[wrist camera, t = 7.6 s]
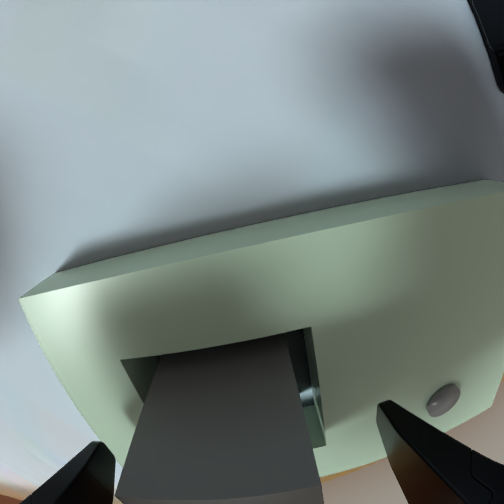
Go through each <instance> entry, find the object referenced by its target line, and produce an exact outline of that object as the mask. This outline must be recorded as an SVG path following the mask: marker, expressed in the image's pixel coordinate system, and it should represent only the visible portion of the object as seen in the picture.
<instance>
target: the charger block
mask: <svg viewBox="0 0 504 504" xmlns="http://www.w3.org/2000/svg"><path fill="white" fill-rule="evenodd" d="M115 496H116V497H117V498H118V499H119V500H120V501H121V502H122V503H123V504H324V501H323V494H322V486H321V481H320V477H319V473H318V469H317V465H316V460H315V456H314V452H313V448H312V444H311V440H310V435H309V431H308V427H307V423H306V419H305V415H304V411H303V407H302V403H301V399H300V395H299V391H298V387H297V383H296V379H295V375H294V371H293V367H292V363H291V359H290V355H289V351H288V347H287V343H286V339H285V335H284V333H280V334H276V335H271V336H266V337H261V338H257V339H252V340H247V341H241V342H236V343H231V344H225V345H220V346H214V347H208V348H202V349H196V350H190V351H184V352H177V353H170V354H163V355H161V357H160V360H159V363H158V366H157V368H156V371H155V374H154V377H153V379H152V382H151V385H150V388H149V391H148V394H147V396H146V399H145V402H144V405H143V408H142V411H141V414H140V417H139V420H138V423H137V426H136V429H135V432H134V435H133V438H132V441H131V444H130V447H129V450H128V454H127V457H126V460H125V463H124V466H123V470H122V473H121V476H120V480H119V483H118V486H117V490H116V493H115Z"/></svg>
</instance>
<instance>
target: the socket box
mask: <svg viewBox="0 0 504 504" xmlns="http://www.w3.org/2000/svg"><path fill="white" fill-rule="evenodd" d="M19 301H20V304H21V306H22V308H23V311H24V313H25V315H26V318H27V320H28V322H29V324H30V326H31V328H32V330H33V333H34V335H35V337H36V339H37V341H38V343H39V345H40V347H41V349H42V350H43V352H44V354H45V356H46V358H47V360H48V362H49V363H50V365H51V367H52V369H53V371H54V372H55V374H56V376H57V377H58V379H59V381H60V382H61V384H62V386H63V387H64V389H65V391H66V392H67V394H68V395H69V397H70V398H71V400H72V401H73V403H74V405H75V406H76V408H77V409H78V410H79V412H80V413H81V415H82V416H83V418H84V419H85V421H86V422H87V423H88V425H89V426H90V427H91V429H92V430H93V432H94V433H95V434H96V435H97V437H98V438H99V439H100V441H101V442H104V443H105V444H106V446H107V447H108V448H109V449H110V451H111V452H112V453H113V454H114V456H115V459H116V460H117V462H118V463H119V464H120V465H121V466H122V467H123V466H124V463H125V460H126V457H127V454H128V450H129V447H130V444H131V441H132V438H133V435H134V432H135V429H136V426H137V423H138V420H139V417H140V414H141V411H142V408H143V405H144V402H145V399H146V396H147V394H148V391H149V388H150V385H151V382H152V379H153V377H154V374H155V371H156V368H157V366H158V363H159V362H158V360H157V358H156V355H163V354H170V353H177V352H184V351H190V350H196V349H202V348H208V347H214V346H220V345H225V344H231V343H236V342H241V341H247V340H252V339H257V338H261V337H266V336H271V335H276V334H280V333H285V332H289V331H293V330H298V329H302V328H303V333H304V339H305V345H306V351H307V358H308V364H309V370H310V377H311V384H312V390H313V397H314V404H315V405H311V406H306V407H303V411H304V415H305V419H306V423H307V427H308V431H309V435H310V440H311V444H312V448H313V452H314V456H315V460H316V465H317V469H318V473H319V477H322V476H326V475H330V474H334V473H338V472H341V471H345V470H349V469H352V468H355V467H359V466H362V465H365V464H368V463H371V462H374V461H377V460H380V459H383V458H385V457H387V454H386V451H385V448H384V445H383V442H382V439H381V436H380V433H379V430H378V427H377V423H376V415H377V405H378V403H380V402H383V401H386V400H392V401H394V402H395V403H397V404H398V405H400V406H402V407H403V408H405V409H406V410H408V411H410V412H411V413H413V414H414V415H416V416H418V417H419V418H421V419H422V420H424V421H426V422H427V423H429V424H431V425H432V426H434V427H435V428H437V429H439V430H440V431H442V432H446V431H448V430H450V429H452V428H454V427H456V426H458V425H460V424H462V423H463V422H465V421H467V420H469V419H471V418H472V417H474V416H476V415H478V414H479V413H481V412H483V411H484V410H486V409H488V408H489V407H491V405H492V403H493V401H494V398H495V395H496V393H497V390H498V387H499V384H500V381H501V378H502V375H503V372H504V182H501V181H495V180H489V179H486V180H479V181H473V182H467V183H462V184H456V185H450V186H444V187H438V188H433V189H427V190H422V191H416V192H411V193H405V194H400V195H395V196H389V197H384V198H379V199H374V200H368V201H363V202H358V203H353V204H348V205H343V206H338V207H333V208H328V209H324V210H319V211H314V212H309V213H304V214H299V215H295V216H290V217H285V218H281V219H276V220H271V221H267V222H262V223H258V224H253V225H249V226H244V227H240V228H235V229H231V230H226V231H222V232H218V233H213V234H209V235H205V236H200V237H196V238H192V239H188V240H183V241H179V242H175V243H171V244H167V245H163V246H158V247H154V248H150V249H146V250H142V251H138V252H134V253H130V254H126V255H122V256H118V257H114V258H110V259H106V260H102V261H99V262H95V263H91V264H87V265H83V266H79V267H76V268H72V269H68V270H64V271H61V272H57V273H54V274H52V275H51V276H49V277H48V278H47V279H45V280H44V281H42V282H41V283H39V284H38V285H37V286H35V287H34V288H32V289H31V290H30V291H28V292H27V293H26V294H24V295H23V296H22V297H20V298H19Z"/></svg>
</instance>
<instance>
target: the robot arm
mask: <svg viewBox="0 0 504 504" xmlns="http://www.w3.org/2000/svg"><path fill="white" fill-rule="evenodd" d="M468 1H469V3H470V5H471V8H472V10H473V12H474V15H475V17H476V19H477V22H478V24H479V27H480V29H481V32H482V35H483V38H484V40H485V43H486V46H487V49H488V52H489V55H490V58H491V62H492V65H493V68H494V72H495V75H496V79H497V83H498V86H499V88H500V90H501V91H502V92H503V93H504V0H468ZM376 423H377V427H378V430H379V433H380V436H381V439H382V442H383V445H384V448H385V451H386V454H387V457H388V460H389V463H390V465H391V468H392V470H393V472H394V474H395V476H396V478H397V480H398V483H399V485H400V487H401V489H402V491H403V493H404V495H405V497H406V499H407V502H408V504H504V465H503V464H500V463H498V462H495V461H493V460H491V459H489V458H487V457H485V456H484V455H482V454H480V453H478V452H476V451H474V450H472V451H471V448H469V447H467V446H466V445H464V444H462V443H461V442H459V441H457V440H455V439H454V438H452V437H450V436H449V435H447V434H445V433H444V432H442V431H440V430H439V429H437V428H435V427H434V426H432V425H431V424H429V423H427V422H426V421H424V420H422V419H421V418H419V417H418V416H416V415H414V414H413V413H411V412H410V411H408V410H406V409H405V408H403V407H402V406H400V405H398V404H397V403H395V402H394V401H392V400H386V401H383V402H380V403H378V405H377V415H376ZM115 463H116V460H115V456H114V454H113V453H112V452H111V451H110V449H109V448H108V447H107V446H106V444H105V443H104V442H101V441H92V442H91V443H90V444H88V445H87V446H86V447H85V448H84V449H83V450H82V451H81V452H79V453H78V454H77V455H76V456H75V457H74V458H73V459H71V460H70V461H69V462H68V463H67V464H66V465H65V466H63V467H62V468H61V469H60V470H59V471H58V472H57V473H55V474H54V475H53V476H52V477H51V478H50V479H48V480H47V481H46V482H45V483H44V484H42V485H41V486H40V487H39V488H38V489H37V490H35V491H34V492H33V493H32V495H29V496H28V497H27V498H26V499H25V500H23V501H22V502H21V503H19V504H112V503H113V496H114V479H115Z"/></svg>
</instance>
